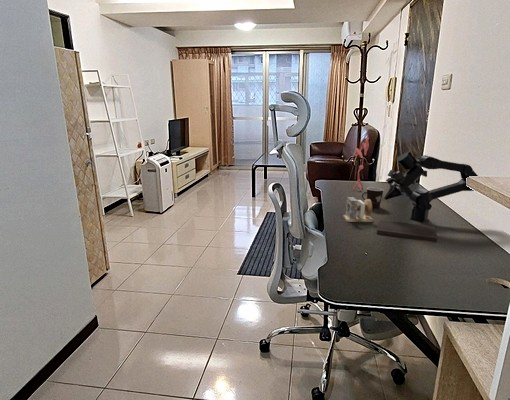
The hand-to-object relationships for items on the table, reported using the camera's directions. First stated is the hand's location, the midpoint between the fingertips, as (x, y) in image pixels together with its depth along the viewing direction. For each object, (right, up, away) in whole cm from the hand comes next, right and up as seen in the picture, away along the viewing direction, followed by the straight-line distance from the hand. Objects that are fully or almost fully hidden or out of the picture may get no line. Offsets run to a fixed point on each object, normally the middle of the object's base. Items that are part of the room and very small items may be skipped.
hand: (384, 199), depth 167 cm
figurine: (+11, +6, +66) cm, 68 cm away
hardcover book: (+4, -15, -14) cm, 21 cm away
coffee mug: (+1, -4, +25) cm, 25 cm away
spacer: (-12, -8, +2) cm, 14 cm away
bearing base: (-12, -10, +2) cm, 16 cm away
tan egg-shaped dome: (-12, -8, +2) cm, 14 cm away
